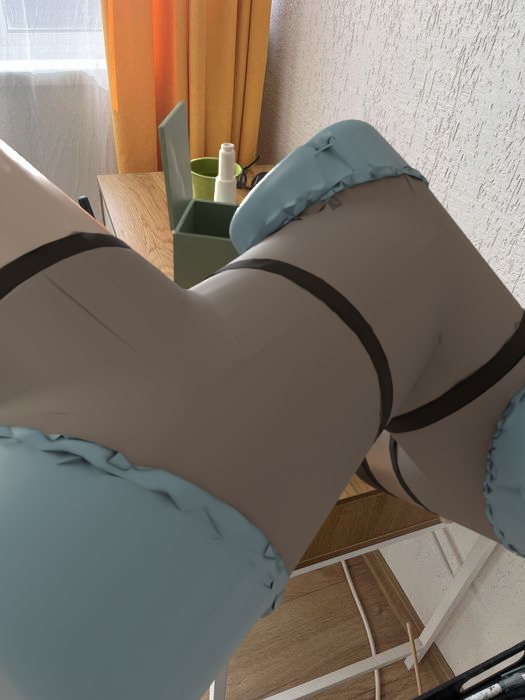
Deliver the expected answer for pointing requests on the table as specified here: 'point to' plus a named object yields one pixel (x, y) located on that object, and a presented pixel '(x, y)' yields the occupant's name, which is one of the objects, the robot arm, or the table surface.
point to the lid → (176, 163)
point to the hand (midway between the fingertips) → (320, 423)
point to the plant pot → (207, 177)
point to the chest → (202, 241)
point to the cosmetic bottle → (226, 175)
